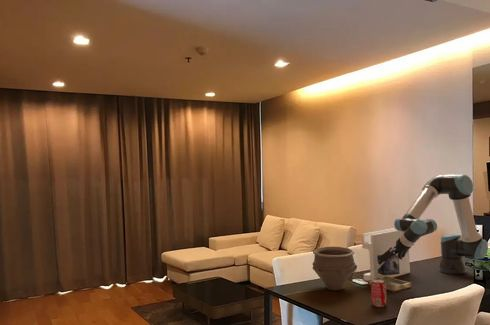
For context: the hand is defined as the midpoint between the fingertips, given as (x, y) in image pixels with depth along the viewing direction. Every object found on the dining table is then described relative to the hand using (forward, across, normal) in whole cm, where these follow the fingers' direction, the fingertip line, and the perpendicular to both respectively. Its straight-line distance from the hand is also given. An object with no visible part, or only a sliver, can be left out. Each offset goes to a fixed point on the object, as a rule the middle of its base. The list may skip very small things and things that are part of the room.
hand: (384, 265), depth 234 cm
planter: (+16, -28, 0) cm, 32 cm away
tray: (+6, 0, -10) cm, 11 cm away
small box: (+1, 0, -5) cm, 5 cm away
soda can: (-8, -30, -24) cm, 39 cm away
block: (+17, +16, +1) cm, 23 cm away
